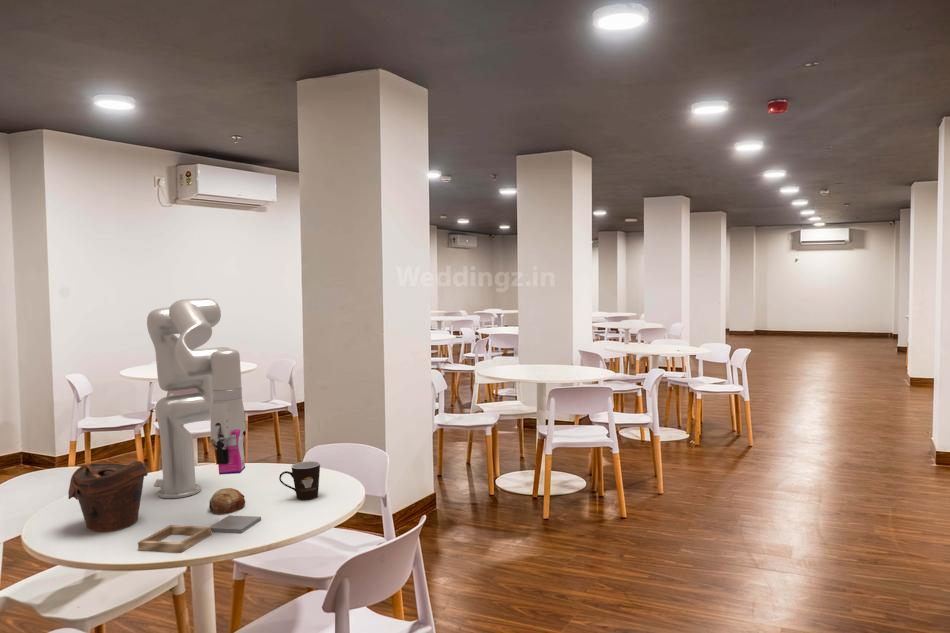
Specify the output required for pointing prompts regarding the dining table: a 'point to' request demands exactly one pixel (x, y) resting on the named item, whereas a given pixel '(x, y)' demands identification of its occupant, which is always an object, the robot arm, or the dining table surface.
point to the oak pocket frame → (155, 545)
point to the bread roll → (226, 501)
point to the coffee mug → (305, 479)
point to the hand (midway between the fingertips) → (231, 459)
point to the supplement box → (234, 454)
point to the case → (108, 494)
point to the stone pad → (235, 524)
